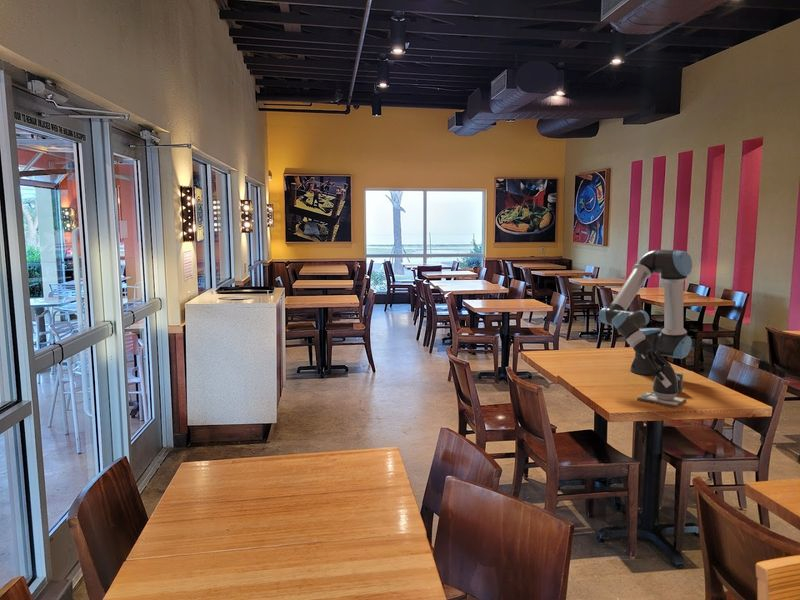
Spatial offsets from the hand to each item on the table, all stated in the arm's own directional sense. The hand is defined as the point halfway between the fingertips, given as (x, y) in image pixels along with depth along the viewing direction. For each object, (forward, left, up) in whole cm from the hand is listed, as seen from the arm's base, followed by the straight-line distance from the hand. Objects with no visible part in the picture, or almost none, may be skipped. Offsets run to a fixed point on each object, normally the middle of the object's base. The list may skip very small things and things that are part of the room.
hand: (673, 383), depth 261 cm
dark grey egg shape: (0, -3, -7) cm, 8 cm away
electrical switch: (-19, -6, -9) cm, 22 cm away
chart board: (0, -4, -9) cm, 10 cm away
